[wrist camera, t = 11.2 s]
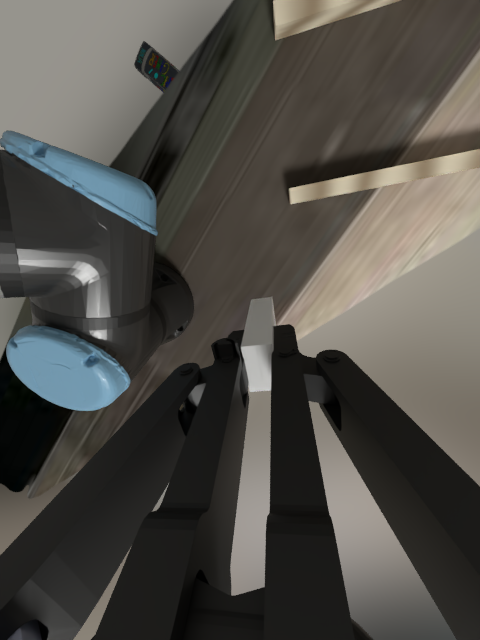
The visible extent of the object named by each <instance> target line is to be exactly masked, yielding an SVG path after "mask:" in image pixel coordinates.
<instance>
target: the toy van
mask: <svg viewBox="0 0 480 640" xmlns="http://www.w3.org/2000/svg"><path fill="white" fill-rule="evenodd" d="M134 65H135V68H136V69H137V70H138V71H139V72H140V73H141V74H142V75H143V76H144V77H145V78H147V79H148V80H149V81H150V82H152V83H153V84H154V85H155V86H156V87H157V88H159V89H160V90H161V91H162V92H163V93H164V91H165V90H166V89H167V87H168V86H169V85H170V83H171V82H172V81H173V79H174V78H175V76H176V75H177V74H178V72H179V70H178V69H177V68H176V67H175V66H174V65H172V64H171V63H170V62H169V61H168V60H167V59H165V58H164V57H163V56H162V55H161V54H160V53H159V52H157V51H156V50H155V49H154V48H153V47H151V46H150V45H149V44H148V43H146V42H145V41H143V43H142V45H141V47H140V49H139V52H138V54H137V57H136V60H135V63H134Z"/></svg>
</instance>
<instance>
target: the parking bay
mask: <svg viewBox="0 0 480 640" xmlns="http://www.w3.org/2000/svg"><path fill="white" fill-rule="evenodd" d="M398 1H401V0H274V1H273V21H274V33H275V40H278V39H282V38H285V37H288V36H291V35H294V34H297V33H300V32H303V31H307V30H310V29H313V28H316V27H319V26H322V25H325V24H329V23H332V22H335V21H338V20H341V19H344V18H347V17H351V16H354V15H357V14H360V13H363V12H366V11H369V10H373V9H376V8H379V7H382V6H385V5H388V4H391V3H395V2H398ZM479 167H480V149H477V150H472V151H467V152H462V153H458V154H453V155H448V156H443V157H438V158H433V159H429V160H424V161H419V162H414V163H409V164H404V165H400V166H395V167H390V168H385V169H380V170H375V171H371V172H366V173H361V174H356V175H351V176H346V177H342V178H337V179H332V180H327V181H322V182H317V183H313V184H308V185H303V186H298V187H293V188H289V189H288V192H289V203H290V204H295V203H300V202H305V201H310V200H315V199H320V198H326V197H331V196H336V195H341V194H346V193H351V192H356V191H361V190H367V189H372V188H377V187H382V186H387V185H392V184H397V183H403V182H408V181H413V180H418V179H423V178H428V177H433V176H438V175H444V174H449V173H454V172H459V171H464V170H469V169H474V168H479Z"/></svg>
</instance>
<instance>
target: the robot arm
mask: <svg viewBox="0 0 480 640" xmlns="http://www.w3.org/2000/svg"><path fill="white" fill-rule="evenodd" d="M0 144H1V147H4V149H5V150H0V298H10V297H29V299H30V305H31V312H32V318H33V323H32V325H31V326H26V327H24V328H21V329H20V330H18V332H17V334H16V335H15V336H14V337H13V338H11V339H10V341H9V342H8V344H7V359H8V362H9V364H10V366H11V368H12V370H13V371H14V373H15V374H16V375H17V377H18V378H19V379H20V380H21V381H22V382H23V383H24V384H25V385H26V386H27V387H28V388H30V389H31V390H32V391H34V392H35V393H37V394H38V395H39V396H41V397H43V398H44V399H46V400H48V401H50V402H52V403H54V404H57V405H59V406H62V407H65V408H69V409H73V410H80V411H92V410H97V409H100V408H102V407H106V406H108V405H109V404H111V403H112V402H113V401H114V400H115V399H116V398H117V397H118V396H119V395H120V394H121V393H123V392H124V391H125V390H126V389H127V388H128V387H129V385H130V383H131V381H132V380H133V379H134V378H135V376H136V375H137V374H138V373H139V371H140V370H141V369H142V367H143V366H144V365H145V364H146V362H147V361H148V360H149V359H150V357H151V356H152V355H153V354H154V352H155V351H156V350H157V349H158V347H159V346H160V345H162V344H165V343H167V342H169V341H172V340H174V339H175V338H177V337H178V336H180V335H181V334H182V333H183V332H184V331H185V329H186V328H187V326H188V325H189V323H190V322H191V319H192V317H193V312H194V303H193V297H192V294H191V291H190V289H189V287H188V286H187V284H186V283H185V281H184V280H183V279H182V278H181V277H180V275H178V274H177V273H176V272H175V271H174V270H172V269H171V268H169V267H167V266H165V265H163V264H160V263H156V262H154V252H155V241H156V236H157V235H158V232H157V230H156V198H155V195H154V193H153V191H152V189H151V188H150V187H149V186H148V185H147V184H146V183H145V182H143V181H141V180H139V179H137V178H135V177H133V176H130V175H128V174H125V173H123V172H120V171H118V170H115V169H113V168H110V167H108V166H105V165H103V164H100V163H97V162H95V161H92V160H90V159H87V158H84V157H82V156H79V155H77V154H74V153H71V152H69V151H66V150H63V149H60V148H58V147H55V146H51V145H49V144H47V143H43V142H41V141H38V140H35V139H32V138H30V137H28V136H25V135H22V134H20V133H16V132H14V131H6V132H4V133H3V136H2V138H1V139H0ZM211 347H212V351H213V355H214V358H215V361H214V363H213V365H212V366H209V367H206V368H202V369H200V367H199V365H198V364H196V363H186V364H183V365H181V366H179V367H178V368H177V369H175V370H174V371H173V372H172V373H171V375H170V376H169V377H168V378H167V379H166V380H165V381H164V382H163V383H162V384H161V385H160V386H159V387H158V388H157V389H156V390H155V392H154V393H153V394H152V395H151V396H150V397H149V398H148V399H147V400H146V401H145V402H144V403H143V404H142V405H141V406H140V408H139V409H138V410H137V411H136V412H135V413H134V414H133V415H132V416H131V417H130V418H129V419H128V420H127V421H126V422H125V423H124V425H123V426H122V427H121V428H120V429H119V430H118V431H117V432H116V433H115V434H114V435H113V436H112V437H111V438H110V439H109V440H108V442H107V443H106V444H105V445H104V446H103V447H102V448H101V449H100V450H99V451H98V452H97V453H96V454H95V455H94V456H93V457H92V459H91V460H90V461H89V462H88V463H87V464H86V465H85V466H84V467H83V468H82V469H81V470H80V471H79V472H78V473H77V474H76V476H75V477H74V478H73V479H72V480H71V481H70V482H69V483H68V484H67V485H66V486H65V487H64V488H63V489H62V490H61V492H60V493H59V494H58V495H57V496H56V497H55V498H54V499H53V500H52V501H51V502H50V503H49V504H48V505H47V506H46V507H45V509H44V510H43V511H42V512H41V513H40V514H39V515H38V516H37V517H36V518H35V519H34V520H33V521H32V522H31V523H30V525H29V526H28V527H27V528H26V529H25V530H24V531H23V532H22V533H21V534H20V535H19V536H18V537H17V539H16V540H14V541H13V543H12V544H11V545H10V546H9V547H8V548H7V549H6V550H5V551H4V552H3V553H2V554H1V555H0V640H73V639H74V637H75V636H76V635H77V633H78V632H79V630H80V629H81V628H82V626H83V625H84V623H85V621H86V620H87V618H88V617H89V615H90V613H91V612H92V610H93V609H94V607H95V606H96V604H97V603H98V601H99V599H100V598H101V596H102V594H103V592H104V591H105V589H106V588H107V586H108V584H109V583H110V581H111V579H112V577H113V576H114V574H115V572H116V571H117V569H118V567H119V566H120V564H121V562H122V561H123V559H124V557H125V556H126V554H127V552H128V551H129V549H130V547H131V546H132V547H131V549H130V552H129V554H128V557H127V559H126V562H125V564H124V566H123V569H122V572H121V574H120V576H119V579H118V581H117V584H116V586H115V588H114V591H113V593H112V596H111V598H110V600H109V603H108V605H107V608H106V610H105V613H104V615H103V618H102V620H101V622H100V625H99V627H98V630H97V632H96V635H95V636H94V637H93V638H92V639H91V640H373V638H372V637H371V636H370V635H369V634H368V633H367V632H366V631H365V630H364V629H363V628H362V627H361V626H360V625H359V624H358V623H356V622H355V621H354V620H353V619H351V617H350V612H349V607H348V601H347V597H346V591H345V586H344V581H343V575H342V570H341V565H340V559H339V554H338V549H337V543H336V538H335V533H334V528H333V524H332V520H331V517H330V515H329V511H328V506H327V500H326V495H325V489H324V484H323V478H322V473H321V467H320V462H319V456H318V451H317V445H316V440H315V434H314V429H313V424H312V418H311V412H310V407H309V402H308V401H312V402H318V403H319V405H320V408H321V409H322V411H323V413H324V414H325V416H326V418H327V420H328V421H329V423H330V425H331V426H332V428H333V430H334V432H335V433H336V435H337V437H338V438H339V440H340V441H341V443H342V445H343V447H344V448H345V450H346V452H347V454H348V455H349V457H350V459H351V460H352V462H353V464H354V466H355V467H356V469H357V471H358V472H359V474H360V476H361V478H362V479H363V481H364V482H365V484H366V486H367V488H368V489H369V491H370V493H371V495H372V496H373V498H374V500H375V501H376V503H377V505H378V506H379V508H380V509H381V512H382V513H383V515H384V516H385V518H386V520H387V522H388V523H389V525H390V527H391V529H392V530H393V532H394V534H395V535H396V537H397V539H398V540H399V542H400V544H401V545H402V547H403V549H404V551H405V552H406V554H407V556H408V557H409V559H410V561H411V562H412V564H413V566H414V568H415V569H416V571H417V573H418V574H419V576H420V578H421V579H422V581H423V583H424V584H425V586H426V588H427V590H428V592H429V593H430V595H431V597H432V598H433V600H434V602H435V603H436V605H437V606H438V609H439V610H440V612H441V613H442V615H443V617H444V619H445V620H446V622H447V624H448V625H449V627H450V629H451V630H452V632H453V634H454V636H455V637H456V639H457V640H480V487H479V485H478V484H477V483H476V482H475V481H474V480H473V479H472V478H470V476H469V475H468V474H466V473H465V472H464V471H463V470H462V469H461V468H460V467H459V466H458V465H457V464H456V463H455V462H454V461H453V460H452V459H451V458H450V457H449V456H448V455H447V454H446V453H445V452H444V451H443V450H442V449H441V448H440V447H439V446H438V445H437V444H436V443H435V442H434V441H433V440H432V439H431V438H430V437H429V436H428V435H427V434H426V433H425V432H424V431H423V430H422V429H421V428H420V427H419V426H418V425H417V424H416V423H415V422H414V421H413V420H412V419H411V418H410V417H409V416H408V415H407V414H406V413H405V412H404V411H403V410H402V409H401V408H400V407H399V406H398V405H397V404H396V403H395V402H394V401H393V400H392V399H391V398H390V397H389V396H388V395H387V394H386V393H385V392H384V391H383V390H382V389H381V388H380V387H378V385H377V384H376V383H374V381H372V379H370V377H369V376H368V375H366V374H365V373H364V372H363V371H362V370H361V369H360V368H359V367H358V366H357V365H356V364H355V363H354V362H353V361H352V360H351V359H350V358H349V357H348V356H347V355H346V354H345V353H343V352H341V351H338V350H325V351H322V352H320V353H319V354H317V356H316V358H312V357H307V356H304V355H302V354H301V353H300V352H299V350H298V346H297V340H296V335H295V329H294V327H293V326H291V325H290V324H288V325H279V326H276V322H275V314H274V307H273V300H272V297H268V298H260V299H253V300H251V303H250V308H249V312H248V316H247V321H246V325H245V330H239V331H233V332H232V333H231V334H230V335H229V336H228V338H223V339H220V340H217V341H216V342H214V343H213V344H212V345H211ZM248 385H249V389H250V392H255V391H271V462H270V469H271V470H270V513H269V515H268V516H267V524H266V560H265V562H266V563H265V587H264V588H260V589H257V590H253V591H250V592H246V593H243V594H239V595H236V596H231V574H230V562H231V552H232V544H233V535H234V526H235V517H236V509H237V500H238V491H239V483H240V475H241V465H242V457H243V449H244V440H245V431H246V423H247V414H248V405H249V395H248ZM182 403H183V406H184V407H183V408H182V409H181V410H179V408H180V406H181V405H182ZM168 483H169V485H168ZM167 485H168V488H167V490H166V493H165V496H164V498H163V501H162V503H161V505H160V508H159V509H158V510H157V511H154V512H152V510H153V508H154V507H155V505H156V504H157V502H158V500H159V498H160V497H161V495H162V493H163V492H164V490H165V488H166V487H167ZM132 544H133V545H132Z"/></svg>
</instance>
